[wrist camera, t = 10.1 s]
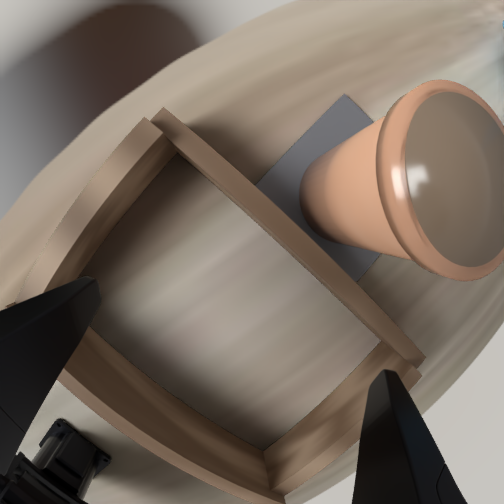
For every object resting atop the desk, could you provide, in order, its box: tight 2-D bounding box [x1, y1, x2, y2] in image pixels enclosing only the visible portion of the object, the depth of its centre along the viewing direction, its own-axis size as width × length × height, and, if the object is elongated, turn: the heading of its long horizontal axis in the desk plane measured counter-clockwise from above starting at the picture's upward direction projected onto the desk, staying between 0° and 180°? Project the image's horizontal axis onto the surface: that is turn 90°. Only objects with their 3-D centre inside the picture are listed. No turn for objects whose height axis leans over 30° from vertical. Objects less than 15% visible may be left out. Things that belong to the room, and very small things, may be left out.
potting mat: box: [255, 94, 381, 283], centre depth 21 cm, size 10×10×1 cm
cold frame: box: [5, 107, 426, 504], centre depth 18 cm, size 16×24×6 cm
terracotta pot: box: [299, 80, 504, 281], centre depth 14 cm, size 7×7×13 cm
